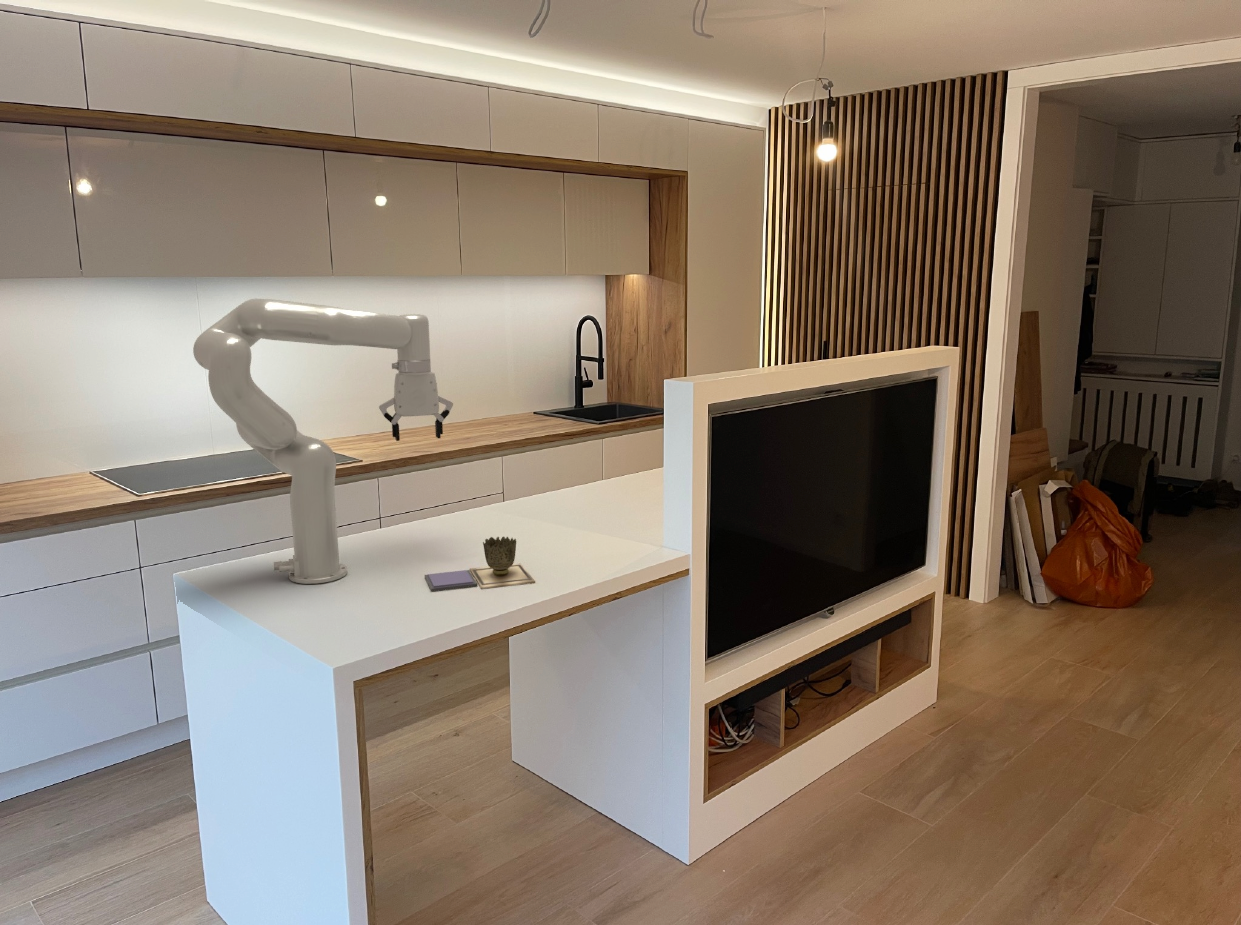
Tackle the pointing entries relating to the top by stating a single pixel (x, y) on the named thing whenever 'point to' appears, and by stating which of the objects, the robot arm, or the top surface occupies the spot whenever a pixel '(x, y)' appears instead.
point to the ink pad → (450, 580)
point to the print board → (501, 577)
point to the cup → (500, 554)
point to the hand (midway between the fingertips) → (418, 438)
